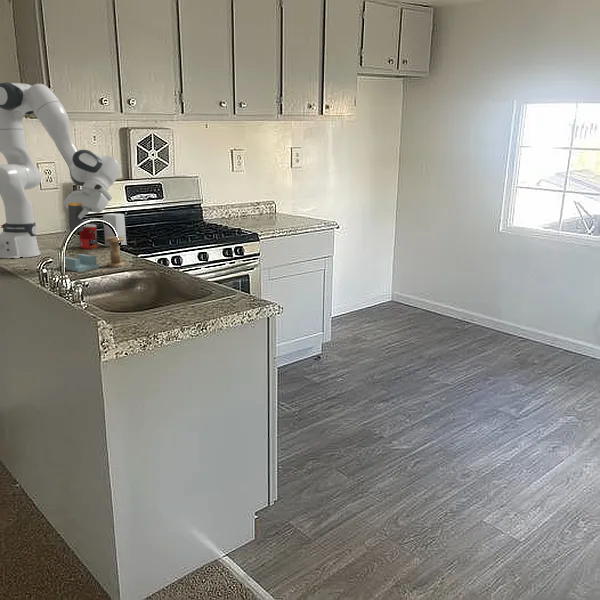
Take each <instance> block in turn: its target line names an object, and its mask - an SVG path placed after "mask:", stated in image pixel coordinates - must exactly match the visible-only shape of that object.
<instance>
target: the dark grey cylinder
mask: <svg viewBox="0 0 600 600" xmlns="http://www.w3.org/2000/svg"><path fill="white" fill-rule="evenodd" d="M81 205H82V203H68V208H67V210H68V214H69V216H68V220H69V221H68V223H69V224H68V225H69V232H73V229H74V228H75V227H76V226H78V225H79V224H80V223H82V222H83V221H84V220H83V218H82V219H78V218H77V217H76V215H77V214H78V213H80V212H81V211H82V206H81ZM83 223H84V222H83ZM79 231H83V226H81V227H80V228H79V229H78V230H77V231H76V232H75V233H77V232H78V233H79Z"/></svg>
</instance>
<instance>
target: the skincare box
mask: <svg viewBox="0 0 600 600" xmlns="http://www.w3.org/2000/svg"><path fill="white" fill-rule="evenodd" d="M125 219H126V218H125V214H124V213H106V214H102V220H104V221H106V222H108V223H110V224H111V225H112V226H113V227H114V228H115V230H116V231H117V234H118V236H119V237H123V238H124V241H122V242H121V245H126V246H127V236H126V235H127V233H126V221H125ZM103 230H104V245H106V246H105V247H109V246H110V242H106V239H105V238H107V237H115V235H114V233H113V231H112V229H111V228H110V227H109V226H107V225H105V224H104V223H103Z"/></svg>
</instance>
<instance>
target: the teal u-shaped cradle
mask: <svg viewBox="0 0 600 600" xmlns="http://www.w3.org/2000/svg"><path fill="white" fill-rule="evenodd" d="M76 255H77V257H75V258H74V257H71V256H70V257H69V256H64V257H65V263H66V269H65V270H68V271H73V272H77V273H79V272H86V271H91V270H96V269H99V268H100V264H99V263H97V256H95V255H90V254H84V253H79V254H76ZM60 264H61V263H58V264H57V265H58V266H57V267H58V269H61V268H60Z"/></svg>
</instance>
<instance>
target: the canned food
mask: <svg viewBox="0 0 600 600" xmlns="http://www.w3.org/2000/svg"><path fill="white" fill-rule="evenodd" d="M85 224H86V225H84V226H83V231H79V232H78V234H79V247H80V249H81V248H83V249H82V250H93V249H92V248H96V249H98V230H97V229H98V228H97V224H94V223H85Z"/></svg>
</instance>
